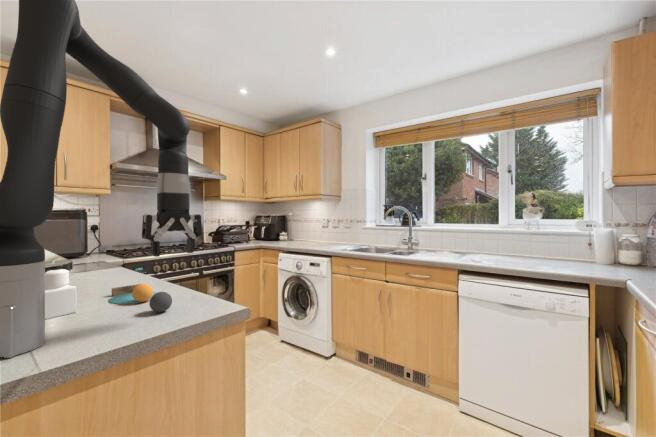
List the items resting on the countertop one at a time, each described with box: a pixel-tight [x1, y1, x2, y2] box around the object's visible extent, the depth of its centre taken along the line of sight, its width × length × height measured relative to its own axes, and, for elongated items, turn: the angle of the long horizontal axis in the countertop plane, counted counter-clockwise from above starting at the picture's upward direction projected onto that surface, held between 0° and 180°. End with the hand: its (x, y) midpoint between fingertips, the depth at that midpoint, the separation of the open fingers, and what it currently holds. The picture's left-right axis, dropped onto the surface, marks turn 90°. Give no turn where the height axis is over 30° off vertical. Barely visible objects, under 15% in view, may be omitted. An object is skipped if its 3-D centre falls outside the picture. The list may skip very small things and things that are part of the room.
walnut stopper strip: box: [111, 283, 141, 297], centre depth 102 cm, size 9×1×2 cm, turn 139°
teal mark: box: [108, 291, 158, 305], centre depth 97 cm, size 14×14×1 cm
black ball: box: [148, 291, 173, 313], centre depth 84 cm, size 6×6×6 cm
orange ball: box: [132, 283, 154, 303], centre depth 93 cm, size 6×6×6 cm
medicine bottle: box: [45, 267, 78, 321], centre depth 81 cm, size 7×7×12 cm
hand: (173, 254), depth 79 cm, fingers open, 8 cm apart
